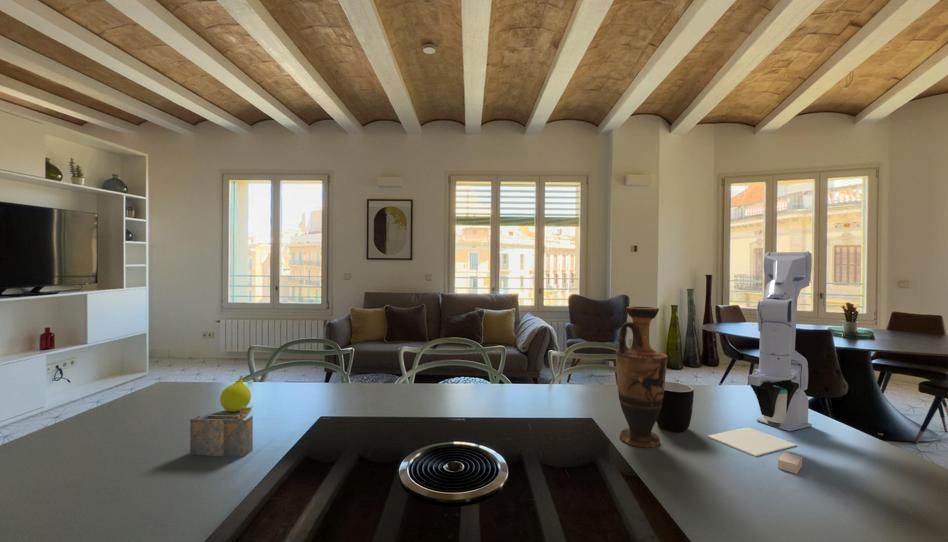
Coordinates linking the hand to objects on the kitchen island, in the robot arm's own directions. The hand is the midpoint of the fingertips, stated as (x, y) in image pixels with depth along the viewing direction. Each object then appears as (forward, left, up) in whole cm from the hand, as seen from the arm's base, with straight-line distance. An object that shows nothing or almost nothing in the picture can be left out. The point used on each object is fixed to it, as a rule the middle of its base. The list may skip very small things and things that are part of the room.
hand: (773, 414), depth 94 cm
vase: (+26, -13, -7) cm, 30 cm away
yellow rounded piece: (+111, -68, -7) cm, 130 cm away
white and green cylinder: (0, 0, -2) cm, 2 cm away
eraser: (+8, +8, -7) cm, 13 cm away
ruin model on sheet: (+111, -41, -7) cm, 118 cm away
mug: (+12, -17, -7) cm, 22 cm away
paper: (+3, -3, -7) cm, 8 cm away
